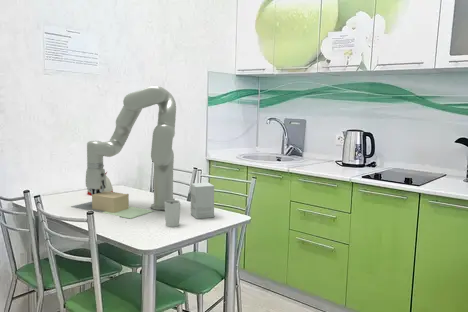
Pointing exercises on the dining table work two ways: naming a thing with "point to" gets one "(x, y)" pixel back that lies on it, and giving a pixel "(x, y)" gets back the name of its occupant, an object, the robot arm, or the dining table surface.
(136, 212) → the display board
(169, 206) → the drinking glass
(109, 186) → the grey domed piece
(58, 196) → the dining table surface
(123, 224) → the dining table surface
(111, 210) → the kraft carton
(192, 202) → the supplement box
